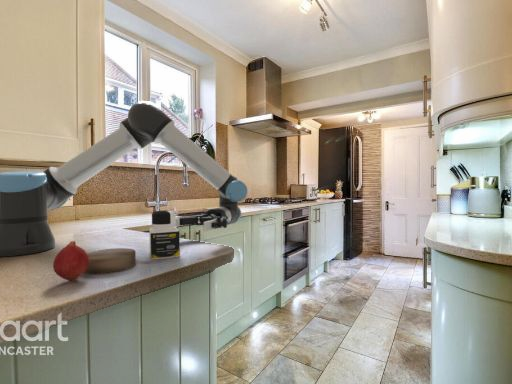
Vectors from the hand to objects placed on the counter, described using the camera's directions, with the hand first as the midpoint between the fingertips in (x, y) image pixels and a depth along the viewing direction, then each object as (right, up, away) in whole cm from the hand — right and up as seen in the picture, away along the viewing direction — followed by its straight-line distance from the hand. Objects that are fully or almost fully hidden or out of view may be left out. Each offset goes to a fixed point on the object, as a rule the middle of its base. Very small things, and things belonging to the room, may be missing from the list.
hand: (184, 225), depth 82 cm
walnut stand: (-13, -7, -19) cm, 24 cm away
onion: (-15, -8, -28) cm, 33 cm away
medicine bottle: (-3, -7, -9) cm, 12 cm away
